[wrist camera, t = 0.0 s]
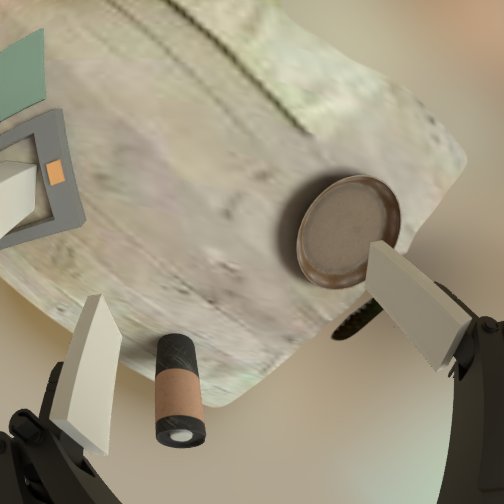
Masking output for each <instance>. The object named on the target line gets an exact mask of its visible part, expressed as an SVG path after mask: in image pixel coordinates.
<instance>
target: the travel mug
mask: <svg viewBox="0 0 504 504" xmlns="http://www.w3.org/2000/svg"><path fill="white" fill-rule="evenodd" d="M155 421H156V422H155V424H156V439H157V440H158V442H159V443H161V444H163V445H165V446H168V447H174V448H191V447H196V446H199V445H201V444H203V443H204V442H205V437H206V431H205V423H204V416H203V408H202V399H201V390H200V381H199V374H198V367H197V360H196V353H195V346H194V343H193V341H192V340H191V339H190V338H189V337H187V336H185V335H182V334H169V335H166V336H164V337H162V338H161V339H160V341H159V343H158V349H157V360H156V373H155Z"/></svg>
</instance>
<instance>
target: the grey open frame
mask: <svg viewBox="0 0 504 504" xmlns="http://www.w3.org/2000/svg"><path fill="white" fill-rule="evenodd" d="M32 135H34V137H35V143H36V148H37V153H38V158H39V163H40V168H41V172H42V176H43V180H44V184H45V188H46V192H47V196H48V199H49V203H50V206H51V209H52V213H53V216H52V217H49V218H46V219H42V220H39V221H36V222H33V223H30V224H27V225H24V226H21V227H18V228H15V229H12V230H10V231H9V232H7V233H6V234H5V235H4V236H3V237H2V238H1V239H0V250H2V249H5V248H8V247H11V246H14V245H18V244H21V243H24V242H28V241H31V240H34V239H38V238H41V237H45V236H48V235H52V234H56V233H59V232H63V231H67V230H70V229H74V228H78V227H81V226H82V225H83V224H84V223H85V221H86V217H85V214H84V210H83V207H82V203H81V200H80V196H79V192H78V188H77V184H76V180H75V176H74V172H73V167H72V163H71V158H70V153H69V148H68V142H67V137H66V131H65V124H64V118H63V110H62V109H54V110H51V111H49V112H47V113H44V114H42V115H40V116H38V117H35V118H33V119H31V120H29V121H27V122H25V123H23V124H21V125H19V126H17V127H15V128H13V129H11V130H9V131H7V132H5V133H4V134H2V135H0V151H1V150H3V149H5V148H7V147H9V146H11V145H13V144H15V143H17V142H19V141H21V140H23V139H25V138H27V137H29V136H32Z"/></svg>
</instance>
